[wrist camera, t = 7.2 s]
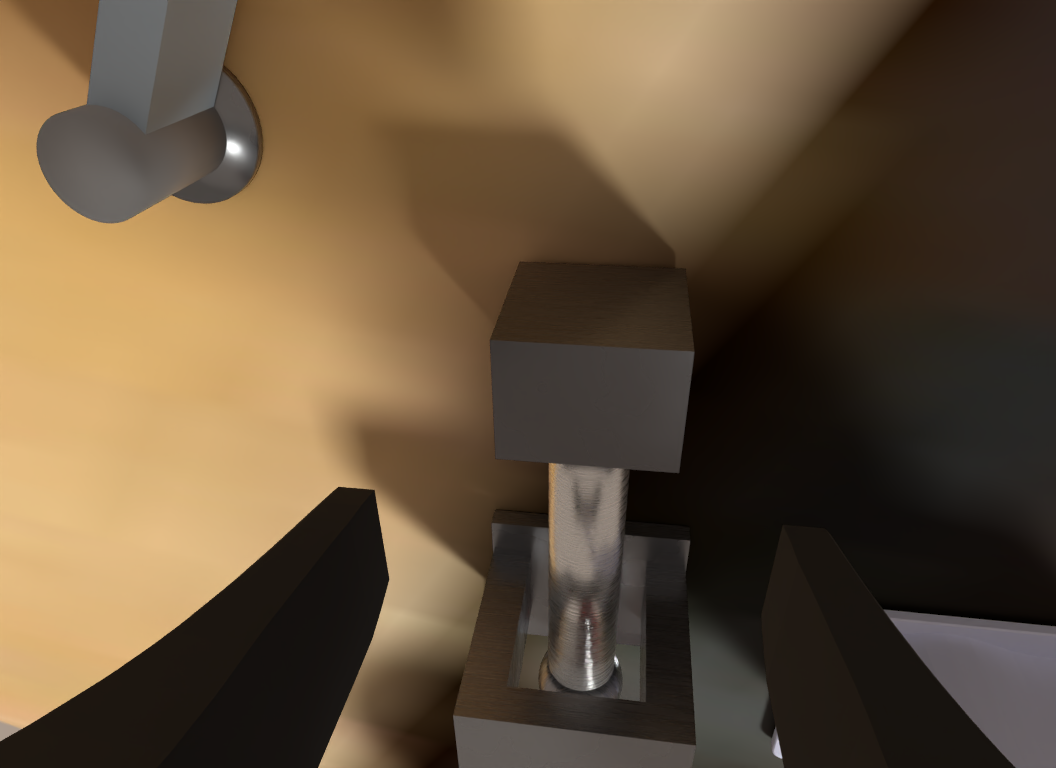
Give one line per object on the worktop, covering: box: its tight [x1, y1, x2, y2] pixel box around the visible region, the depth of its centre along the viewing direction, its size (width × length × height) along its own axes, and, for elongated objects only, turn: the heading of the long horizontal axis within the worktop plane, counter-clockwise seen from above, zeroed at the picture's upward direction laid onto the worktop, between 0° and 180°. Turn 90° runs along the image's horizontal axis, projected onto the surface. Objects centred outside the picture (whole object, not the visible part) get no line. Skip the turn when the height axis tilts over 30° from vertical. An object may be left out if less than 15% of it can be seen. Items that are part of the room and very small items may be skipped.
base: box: [172, 66, 263, 203], centre depth 17 cm, size 4×4×1 cm
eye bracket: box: [453, 510, 696, 768], centre depth 21 cm, size 6×5×6 cm
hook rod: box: [490, 262, 695, 699], centre depth 19 cm, size 4×14×4 cm, turn 1°
